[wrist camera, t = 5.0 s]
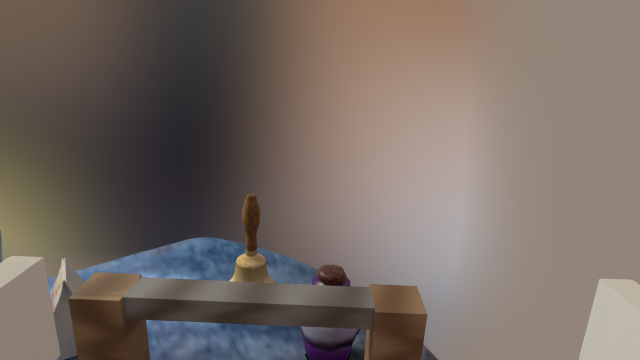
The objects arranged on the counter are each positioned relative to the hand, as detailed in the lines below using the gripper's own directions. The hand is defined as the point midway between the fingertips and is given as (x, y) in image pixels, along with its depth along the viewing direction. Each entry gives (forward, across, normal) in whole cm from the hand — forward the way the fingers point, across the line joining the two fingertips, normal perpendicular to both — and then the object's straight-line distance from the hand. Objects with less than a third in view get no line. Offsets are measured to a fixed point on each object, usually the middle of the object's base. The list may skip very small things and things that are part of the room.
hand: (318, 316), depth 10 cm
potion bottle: (+34, +1, -30) cm, 46 cm away
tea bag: (+36, -31, -30) cm, 56 cm away
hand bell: (+48, -11, -30) cm, 58 cm away
